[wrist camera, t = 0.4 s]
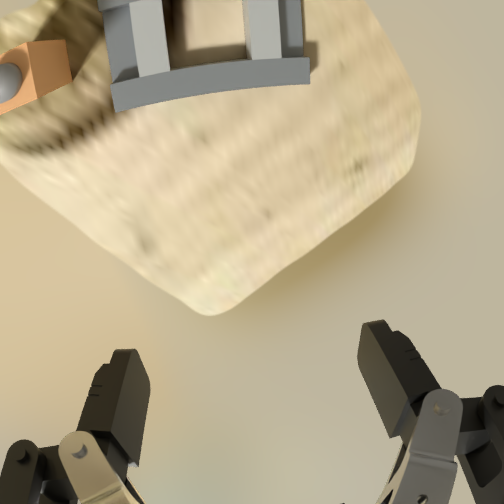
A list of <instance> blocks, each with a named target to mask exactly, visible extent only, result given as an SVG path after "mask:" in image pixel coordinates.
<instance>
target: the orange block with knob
mask: <svg viewBox="0 0 504 504" xmlns="http://www.w3.org/2000/svg"><path fill="white" fill-rule="evenodd" d="M70 82H73V81H72V76H71V70H70V65H69V59H68V54H67V47H66V41H65V40H46V41H33V42H26V43H24V44H21V45H19V46H17V47H15V48H13V49H11V50H9V51H7V52H5V53H3V54H1V55H0V115H1V114H3V113H6V112H8V111H10V110H12V109H14V108H17V107H19V106H21V105H23V104H26V103H28V102H31V101H33V100H35V99H38V98H40V97H42V96H44V95H46V94H47V93H49V92H51V91H53V90H56V89H58V88H60V87H62V86H64V85H66V84H68V83H70Z"/></svg>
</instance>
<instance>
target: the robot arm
mask: <svg viewBox="0 0 504 504" xmlns="http://www.w3.org/2000/svg"><path fill="white" fill-rule="evenodd" d="M357 359H358V365H359V369H360V371H361V373H362V376H363V378H364V380H365V382H366V385H367V387H368V389H369V391H370V394H371V396H372V398H373V400H374V403H375V405H376V407H377V410H378V412H379V414H380V416H381V419H382V421H383V423H384V426H385V428H386V430H387V433H388V435H389V437H390V438H392V437H396V436H399V435H400V436H401V438H402V441H403V442H402V444H401V446H400V449H399V452H398V455H397V458H396V460H395V463H394V465H393V468H392V470H391V473H390V475H389V478H388V480H387V483H386V485H385V487H384V489H383V491H382V493H381V495H380V497H379V498H378V500H377V502H376V504H448V503H449V499H450V496H451V492H452V489H453V485H454V481H455V478H456V473H457V463H456V462H454V455H457V457H458V459H459V461H460V464H461V467H462V469H463V471H464V474H465V476H466V479H467V482H468V484H469V487H470V489H471V492H472V494H473V497H474V500H475V503H476V504H504V386H501V385H495V386H492V387H489V388H488V389H487V390H486V392H485V394H484V395H483V397H476V398H459V396H458V395H457V394H455V393H454V392H452V391H450V390H446V389H442V388H441V387H440V385H439V384H438V382H437V381H436V379H435V377H434V376H433V374H432V373H431V371H430V370H429V368H428V366H427V365H426V363H425V362H424V360H423V359H421V356H420V354H419V353H418V351H417V350H416V348H415V346H414V345H413V343H412V342H411V340H410V339H409V338H408V337H407V336H405V335H404V334H402V333H401V332H400V331H394V332H392V330H391V329H390V327H389V326H388V324H387V323H386V321H385V320H377V321H372V322H367V323H364V324H363V325H362V329H361V336H360V342H359V348H358V355H357ZM91 386H92V387H90V390H89V393H88V397H87V399H86V402H85V405H84V408H83V411H82V414H81V417H80V420H79V424H78V427H77V430H76V431H75V432H72V433H70V434H68V435H67V436H65V437H64V438H63V440H62V441H61V443H60V445H56V446H50V447H44V448H38V447H37V446H36V445H35V444H34V443H33V442H32V441H29V440H19V441H17V442H15V443H14V444H13V445H12V446H11V447H10V448H9V450H8V452H7V455H6V459H5V462H4V465H3V469H2V472H1V476H0V504H77V501H78V499H79V500H80V502H81V504H146V502H145V501H144V500H143V498H142V497H141V495H140V494H139V492H138V491H137V490H136V488H135V487H134V485H133V484H132V482H131V481H130V479H129V478H128V477H127V468H128V466H129V467H139V459H140V452H141V445H142V439H143V432H144V426H145V420H146V414H147V408H148V403H149V397H150V381H149V378H148V375H147V373H146V371H145V368H144V366H143V363H142V361H141V359H140V356H139V354H138V352H137V350H136V349H117V350H115V351H114V352H113V355H112V358H111V361H110V364H103V365H102V366H101V368H100V369H99V370H98V371H97V372H96V373H95V376H94V379H93V381H92V384H91ZM343 504H344V503H343Z"/></svg>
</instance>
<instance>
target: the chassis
mask: <svg viewBox="0 0 504 504" xmlns="http://www.w3.org/2000/svg"><path fill="white" fill-rule="evenodd" d="M97 2H98V11H99V12H102V15H103V23H104V30H105V37H106V44H107V51H108V57H109V63H110V69H111V74H112V80H113V83H112V84H111V85H110V88H111V93H112V98H113V103H114V108H115V112H120V111H124V110H128V109H132V108H136V107H141V106H145V105H149V104H154V103H159V102H164V101H169V100H174V99H179V98H185V97H190V96H196V95H202V94H209V93H216V92H223V91H231V90H239V89H248V88H258V87H269V86H283V85H300V84H310V58H309V57H304V56H303V35H302V17H301V1H300V0H242V5H243V17H244V29H245V41H246V53H247V59H237V60H228V61H219V62H211V63H204V64H197V65H191V66H185V67H179V68H173V69H170V62H169V54H168V47H167V39H166V31H165V22H164V14H163V5H162V0H97Z"/></svg>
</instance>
